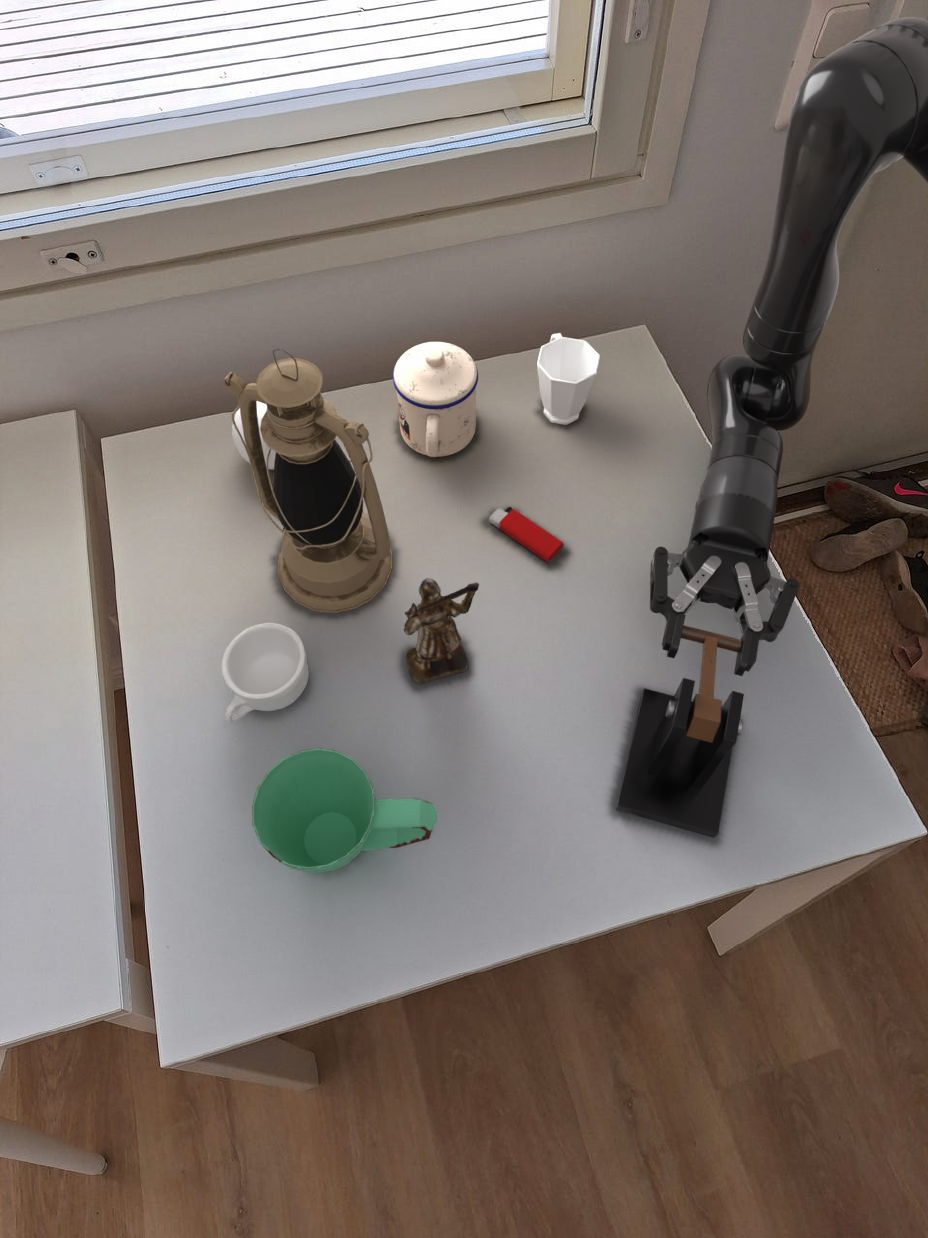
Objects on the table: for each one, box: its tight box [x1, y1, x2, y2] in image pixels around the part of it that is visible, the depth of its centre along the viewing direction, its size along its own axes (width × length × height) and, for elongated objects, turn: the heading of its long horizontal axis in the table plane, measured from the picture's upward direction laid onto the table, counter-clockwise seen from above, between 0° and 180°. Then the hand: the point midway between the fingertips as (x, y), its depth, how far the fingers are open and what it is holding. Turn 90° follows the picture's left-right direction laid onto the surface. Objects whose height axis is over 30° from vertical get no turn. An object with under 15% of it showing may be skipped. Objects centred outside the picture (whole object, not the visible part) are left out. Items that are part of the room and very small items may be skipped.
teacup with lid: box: [392, 341, 479, 458], centre depth 96 cm, size 12×9×12 cm
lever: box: [681, 625, 742, 743], centre depth 76 cm, size 13×6×2 cm, turn 163°
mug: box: [251, 747, 438, 874], centre depth 74 cm, size 15×10×10 cm
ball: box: [231, 401, 276, 471], centre depth 96 cm, size 8×8×8 cm
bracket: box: [615, 677, 745, 839], centre depth 76 cm, size 12×9×13 cm
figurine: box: [403, 577, 480, 685], centre depth 81 cm, size 7×4×15 cm, turn 107°
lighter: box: [488, 506, 565, 563], centre depth 94 cm, size 3×1×8 cm
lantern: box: [222, 348, 393, 614], centre depth 80 cm, size 14×12×30 cm
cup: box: [536, 332, 601, 426], centre depth 100 cm, size 7×10×8 cm
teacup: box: [221, 622, 310, 724], centre depth 83 cm, size 10×8×5 cm
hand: (706, 662), depth 80 cm, fingers closed on lever, 5 cm apart
